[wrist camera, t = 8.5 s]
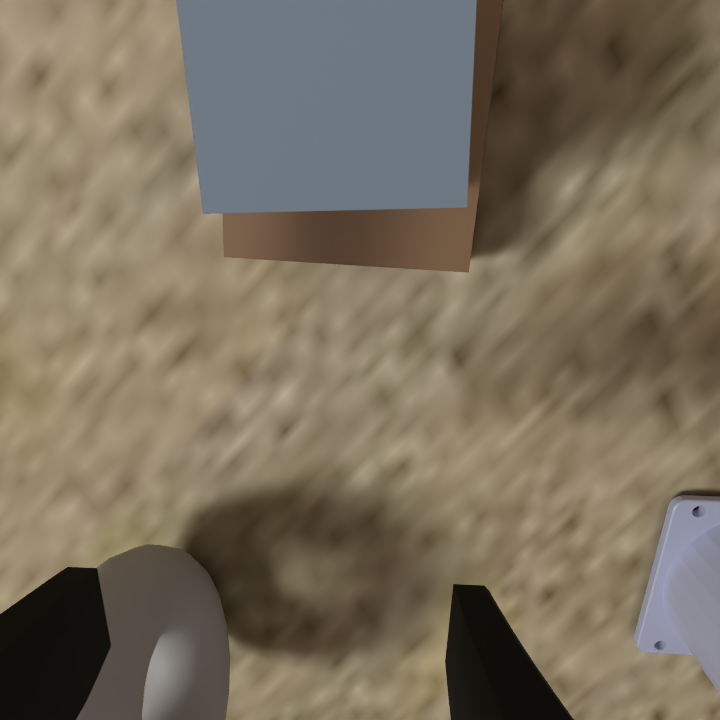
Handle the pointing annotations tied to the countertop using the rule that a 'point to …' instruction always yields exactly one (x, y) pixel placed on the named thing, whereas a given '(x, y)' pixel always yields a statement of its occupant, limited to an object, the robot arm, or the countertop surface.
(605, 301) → the countertop surface
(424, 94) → the grey block
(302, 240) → the walnut block
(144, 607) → the donut
